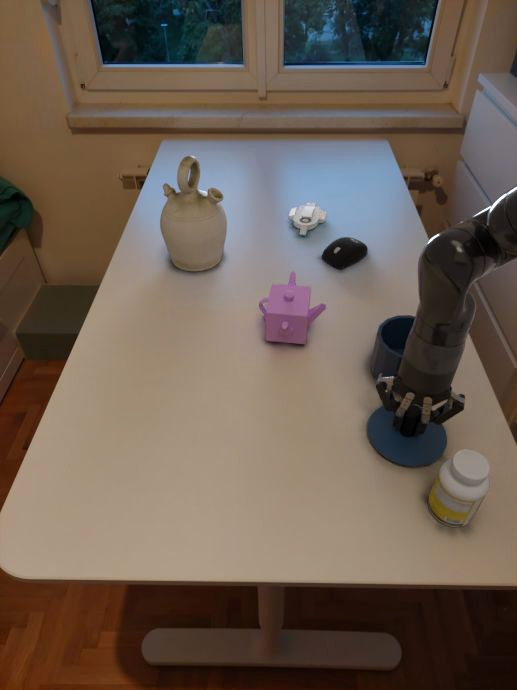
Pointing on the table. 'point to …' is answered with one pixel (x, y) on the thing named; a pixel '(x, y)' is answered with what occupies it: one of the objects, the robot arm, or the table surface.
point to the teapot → (289, 312)
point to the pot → (390, 345)
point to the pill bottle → (459, 488)
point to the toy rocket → (307, 217)
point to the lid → (406, 438)
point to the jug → (193, 221)
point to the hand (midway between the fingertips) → (407, 429)
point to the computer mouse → (344, 252)
